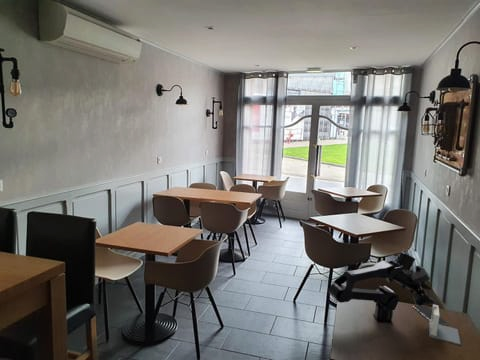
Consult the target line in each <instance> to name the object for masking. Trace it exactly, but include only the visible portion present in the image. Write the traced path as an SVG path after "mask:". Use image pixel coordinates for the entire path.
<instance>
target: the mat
mask: <svg viewBox="0 0 480 360" xmlns="http://www.w3.org/2000/svg"><path fill="white" fill-rule="evenodd" d="M428 331H429V332H428V335H429V338H431V339H432V338H433V339H437V340H439V341H444V342H447V343H451V344H454V345H457V346H458V345H459V346H461V340H460V335H459V330H458V328H455V327H451V326H448V325H440V324H438V331H437V335H436V336H434V335H431V327H430V321H428Z"/></svg>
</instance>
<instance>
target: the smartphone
mask: <svg viewBox="0 0 480 360" xmlns="http://www.w3.org/2000/svg"><path fill="white" fill-rule="evenodd" d="M412 307H413V309H415V311H416V312H418V313H419V314H420V315H422V317H423V318H425V319H426V320H427V321H428V322H431V315H432V309H431V308H430V307H429V306H428V305H427V304H426V305H425V304H422V305H421V306H418V305H412ZM439 324H440V325H443V326H448V325H449V323H448V322H447V321H446V319H443V318H442V317H441V316H440V318H439Z"/></svg>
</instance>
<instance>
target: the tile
mask: <svg viewBox="0 0 480 360" xmlns="http://www.w3.org/2000/svg"><path fill="white" fill-rule="evenodd" d="M431 310H432V315H431V322H430V321H429V322H430V327H431V335H434V336H436V335H437V331H438V324H439V318H440V317H441V316H440V307H439V305H437V304H432V309H431Z"/></svg>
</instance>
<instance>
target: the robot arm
mask: <svg viewBox="0 0 480 360" xmlns="http://www.w3.org/2000/svg"><path fill="white" fill-rule="evenodd" d="M414 262H416V258H415V257H413V256H411V255H409V254H407V253H405V252H403V251H401V252H400V253H399V257H398V258H397V260H396V261H394V260H392V259H390V260H382V261H378V262H376V263H375V264H374V265H372V266H368V267H363V268H359V269H354V270H346V271H345V272H343V274H342V275H341V276H339V277H337V278H336V279H335V280H334V281H333V282H332V283H331V285H330V286H329V288H328V294H329V295H330V296H332V298H334V299H335V300H336V301H337V302H338V303H339V304H340V303H341V304H342V303H348V302H350V301H352V300H354V301H356V300H357V301H372V302H374V303H375V309H374V313H372V315H373V317H374V318H375V319H376V321H377V322H378V323H386V324H387V323H389V324H390V323H391V324H392V323H393V314H394V311H395V309H396V308H397V305H398V303H399V300H400V298H399V295H398V293H396V292H395V291H394V290H392V289H391V288H389V287H388V286H386V285H383V286H382V285H378V288H376V289H365V288H355V287H354V286H355V284H356V283H357V282H361V281H367V280H372V279H374V278H375V279H376V278H381V279H386V282H388V283H389V284H392V282H393V281H394V282H396V283H398V284H399V285H401V287H402V288H403V289H405V288H406V289H408V290H409V292H410V293H414V292H416V293H415V294H414V295H413V300H414V303H415V305H416V306H421V305H425V304H426V305H428V304H429V305H433V304H434V305H437V304H438V302H437V301H436V300H435V299H434V298H432V297H431V296H430V294H429V292H428V291H426V290H429V291H430V290H432V287H431V286H430V285H429V284H428V283H427V281H430V279H431V277H430V275H429V273H428V272H427V270H426V269H425V267H422V266H420V265H415V266H414V268H415V269H414V268H413V269H412V270H411V268H412V266H413V264H414ZM410 270H411V271H410ZM406 271H408V272H406ZM344 283H346V285H343V284H344Z"/></svg>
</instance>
